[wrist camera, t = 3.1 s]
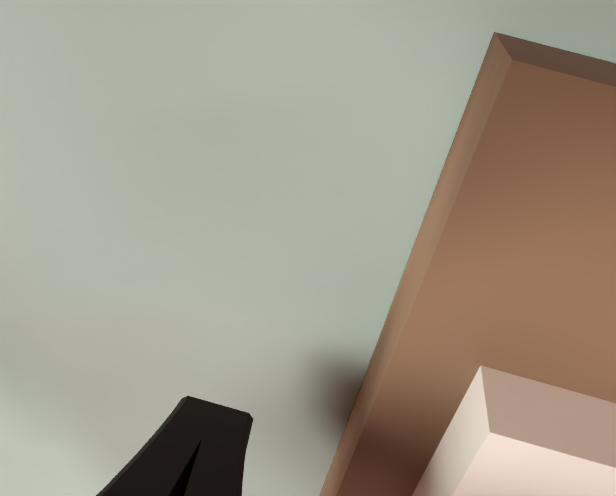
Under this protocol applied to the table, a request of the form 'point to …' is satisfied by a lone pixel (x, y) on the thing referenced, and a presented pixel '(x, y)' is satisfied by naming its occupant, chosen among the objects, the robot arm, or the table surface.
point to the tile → (524, 442)
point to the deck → (498, 264)
